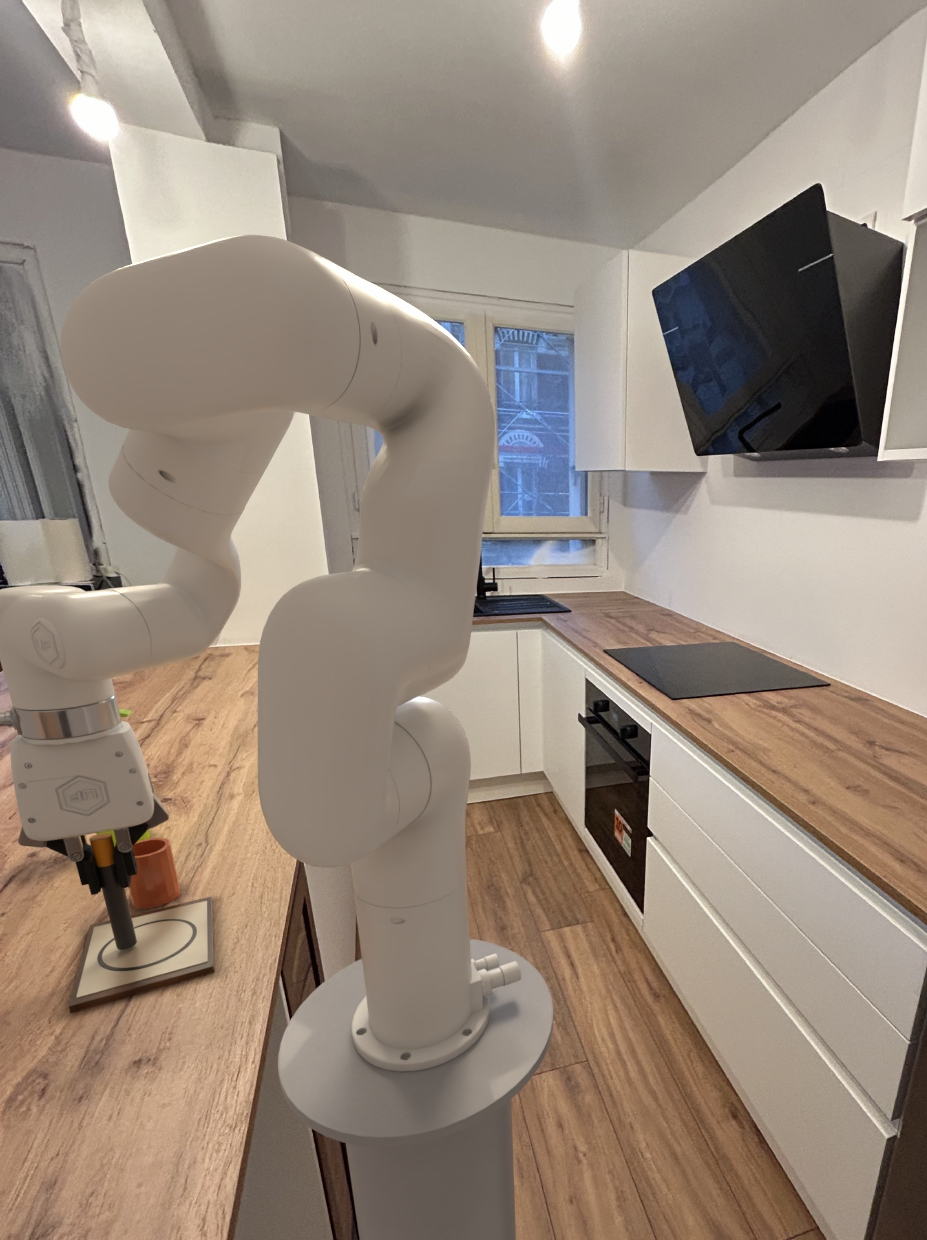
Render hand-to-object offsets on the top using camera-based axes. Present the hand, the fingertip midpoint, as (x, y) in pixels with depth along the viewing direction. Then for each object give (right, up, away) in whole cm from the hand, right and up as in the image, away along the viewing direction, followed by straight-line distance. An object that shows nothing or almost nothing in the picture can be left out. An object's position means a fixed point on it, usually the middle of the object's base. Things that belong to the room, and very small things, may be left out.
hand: (112, 883), depth 68 cm
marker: (0, -7, +2) cm, 8 cm away
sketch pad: (+1, -8, +4) cm, 9 cm away
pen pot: (-5, -5, +13) cm, 15 cm away
